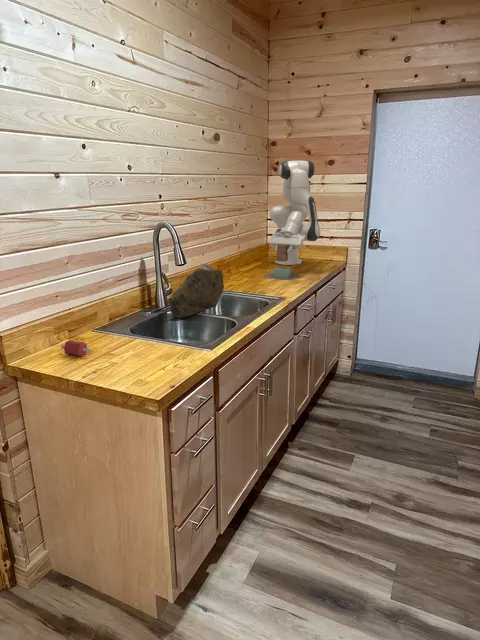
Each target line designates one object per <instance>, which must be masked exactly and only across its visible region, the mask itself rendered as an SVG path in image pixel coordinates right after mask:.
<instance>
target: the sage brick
mask: <svg viewBox="0 0 480 640" xmlns="http://www.w3.org/2000/svg"><path fill="white" fill-rule="evenodd" d="M273 273H274V278H286V279H287V278H288V277H290V276H291V275H292V267H289V266H288V267H286V266H285V267H284V266H276V267H275V268H273Z"/></svg>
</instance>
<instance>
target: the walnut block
mask: <svg viewBox="0 0 480 640" xmlns="http://www.w3.org/2000/svg"><path fill="white" fill-rule="evenodd" d="M287 249H288V245H277V253H276V260H277V261H283V262H285V261H287V260H288V253H286V250H287Z"/></svg>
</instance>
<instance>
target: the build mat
mask: <svg viewBox="0 0 480 640" xmlns="http://www.w3.org/2000/svg"><path fill="white" fill-rule="evenodd" d="M297 277H299V275H295V274H291V276H290V277H288V278H287V279H286V278H274V272H272V273H270V274H267V275H266V276H264V277H263V279H269V280H270V279H271V280H273V279H274V280H282V281H293V280H294V279H296V278H297Z"/></svg>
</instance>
